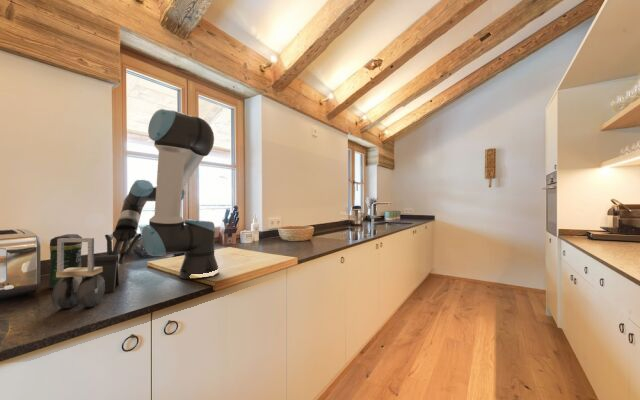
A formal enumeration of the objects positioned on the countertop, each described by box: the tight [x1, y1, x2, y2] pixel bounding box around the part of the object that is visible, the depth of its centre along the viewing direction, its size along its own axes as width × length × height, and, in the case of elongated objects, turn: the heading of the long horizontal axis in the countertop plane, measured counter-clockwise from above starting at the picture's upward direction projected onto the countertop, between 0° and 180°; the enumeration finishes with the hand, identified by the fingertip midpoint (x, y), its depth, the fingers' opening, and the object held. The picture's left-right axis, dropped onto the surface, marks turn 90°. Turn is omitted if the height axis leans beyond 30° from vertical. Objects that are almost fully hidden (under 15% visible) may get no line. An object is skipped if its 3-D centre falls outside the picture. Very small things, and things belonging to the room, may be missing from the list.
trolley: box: [51, 237, 105, 310], centre depth 81 cm, size 9×9×20 cm
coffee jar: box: [48, 233, 83, 289], centre depth 100 cm, size 10×8×19 cm
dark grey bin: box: [94, 254, 121, 294], centre depth 96 cm, size 9×6×12 cm, turn 24°
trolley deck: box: [56, 266, 103, 277], centre depth 81 cm, size 9×5×2 cm, turn 101°
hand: (114, 271), depth 103 cm, fingers closed
